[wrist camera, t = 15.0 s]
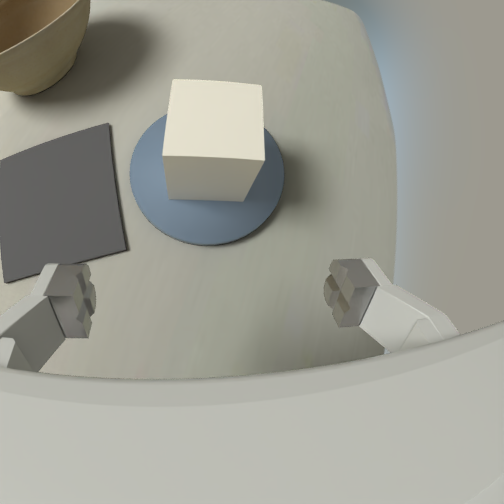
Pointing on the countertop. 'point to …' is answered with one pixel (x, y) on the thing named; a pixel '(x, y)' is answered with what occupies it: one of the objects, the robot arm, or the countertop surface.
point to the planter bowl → (39, 42)
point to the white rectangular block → (213, 140)
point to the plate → (201, 211)
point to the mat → (59, 204)
